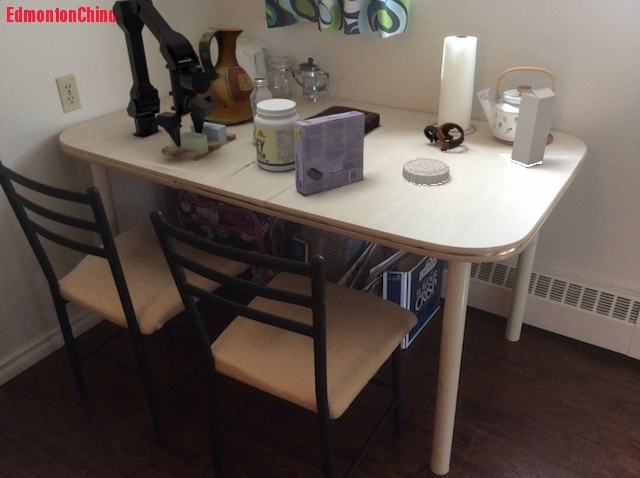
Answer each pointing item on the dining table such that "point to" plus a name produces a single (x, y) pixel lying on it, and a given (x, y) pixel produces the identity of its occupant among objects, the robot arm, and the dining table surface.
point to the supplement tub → (275, 134)
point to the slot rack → (196, 155)
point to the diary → (370, 117)
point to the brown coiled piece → (444, 135)
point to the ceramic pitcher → (226, 77)
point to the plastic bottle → (259, 97)
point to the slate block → (213, 132)
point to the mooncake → (425, 171)
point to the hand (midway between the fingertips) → (189, 141)
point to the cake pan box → (329, 151)
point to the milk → (533, 124)
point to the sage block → (192, 142)
